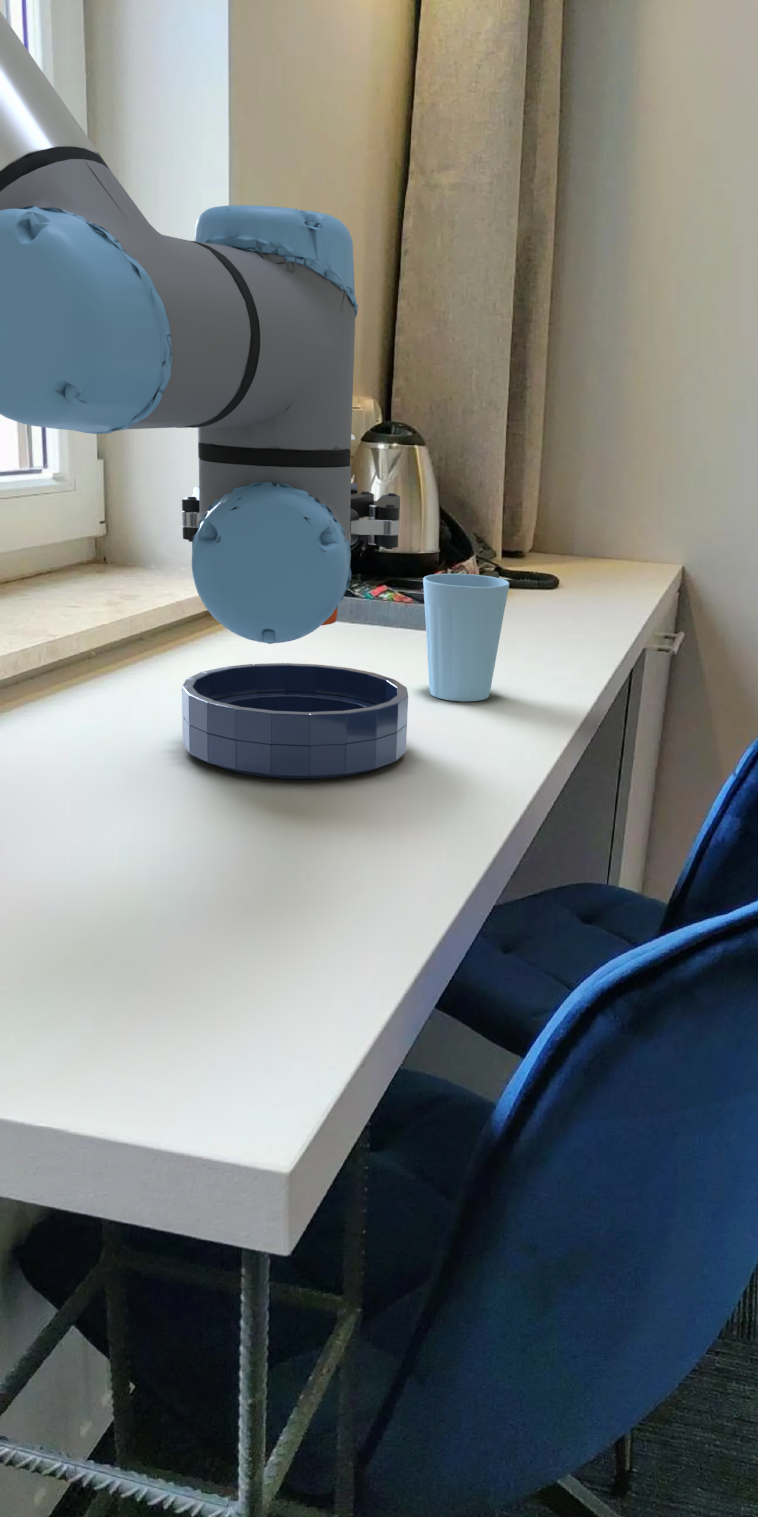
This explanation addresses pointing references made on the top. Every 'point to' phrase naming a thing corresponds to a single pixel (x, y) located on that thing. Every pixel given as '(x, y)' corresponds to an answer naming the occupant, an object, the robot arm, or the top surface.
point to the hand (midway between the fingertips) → (302, 499)
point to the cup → (463, 633)
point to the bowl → (294, 720)
